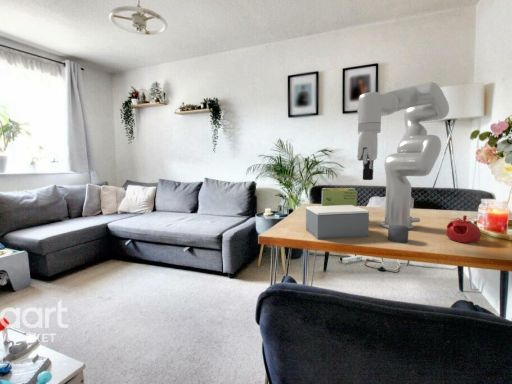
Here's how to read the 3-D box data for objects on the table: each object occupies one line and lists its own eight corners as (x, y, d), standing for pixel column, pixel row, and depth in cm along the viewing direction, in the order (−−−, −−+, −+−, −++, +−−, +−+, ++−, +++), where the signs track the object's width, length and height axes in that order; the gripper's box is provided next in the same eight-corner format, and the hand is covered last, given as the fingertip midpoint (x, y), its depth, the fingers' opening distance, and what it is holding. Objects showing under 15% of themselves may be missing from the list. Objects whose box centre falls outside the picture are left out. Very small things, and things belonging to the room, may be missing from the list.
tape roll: (400, 237, 100) (400, 224, 99) (412, 242, 94) (412, 228, 93) (384, 238, 99) (384, 225, 98) (395, 243, 93) (395, 229, 92)
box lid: (351, 206, 114) (351, 204, 114) (368, 212, 100) (369, 210, 100) (306, 208, 112) (306, 206, 111) (317, 214, 98) (317, 212, 98)
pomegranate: (464, 236, 100) (466, 212, 99) (488, 244, 90) (490, 217, 89) (438, 236, 100) (440, 212, 99) (459, 245, 90) (461, 218, 89)
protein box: (356, 224, 121) (357, 190, 119) (321, 222, 124) (322, 190, 122) (353, 219, 131) (353, 187, 130) (321, 218, 134) (321, 187, 133)
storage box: (350, 227, 115) (351, 207, 114) (368, 236, 101) (368, 213, 100) (305, 229, 113) (306, 208, 112) (317, 239, 99) (317, 215, 98)
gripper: (363, 131, 104) (362, 178, 106) (352, 128, 92) (351, 181, 94) (384, 129, 99) (383, 178, 102) (375, 126, 87) (374, 182, 90)
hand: (367, 179), depth 98 cm, fingers closed
